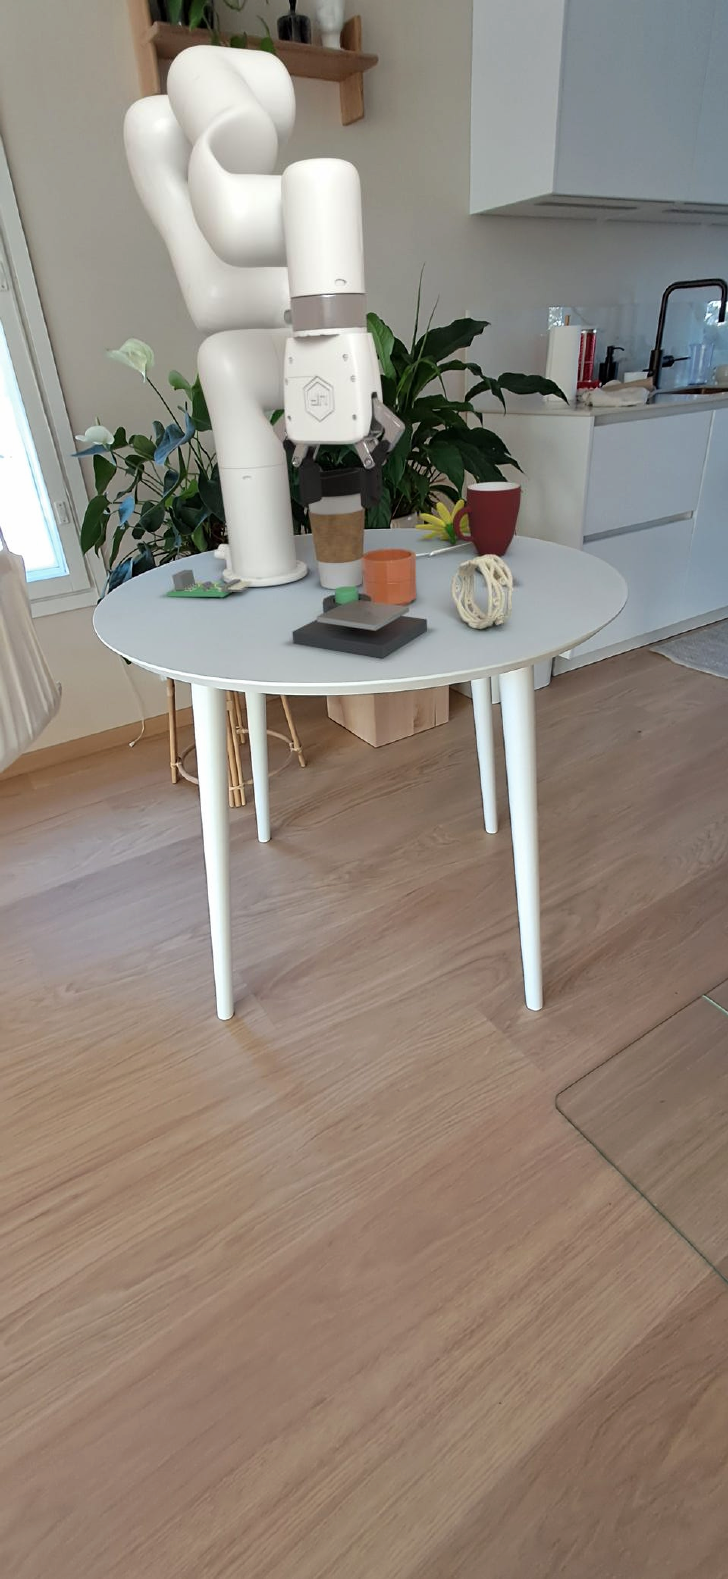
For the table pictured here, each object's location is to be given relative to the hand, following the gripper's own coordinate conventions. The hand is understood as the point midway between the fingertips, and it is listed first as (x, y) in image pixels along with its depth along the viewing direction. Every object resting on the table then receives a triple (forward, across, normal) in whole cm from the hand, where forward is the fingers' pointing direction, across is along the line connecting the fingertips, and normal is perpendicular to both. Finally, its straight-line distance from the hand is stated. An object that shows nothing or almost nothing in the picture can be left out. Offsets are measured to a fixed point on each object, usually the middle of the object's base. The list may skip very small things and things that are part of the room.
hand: (340, 503), depth 85 cm
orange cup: (+14, 0, +10) cm, 17 cm away
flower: (+10, -10, +38) cm, 40 cm away
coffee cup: (+14, -11, +15) cm, 23 cm away
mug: (+14, +1, +37) cm, 40 cm away
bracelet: (+14, +15, +5) cm, 21 cm away
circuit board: (+12, -26, +6) cm, 30 cm away
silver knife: (+13, -1, +42) cm, 44 cm away
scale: (+14, +4, -4) cm, 15 cm away
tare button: (+11, 0, 0) cm, 11 cm away
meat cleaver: (+13, +8, +28) cm, 32 cm away
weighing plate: (+11, +6, -5) cm, 13 cm away
